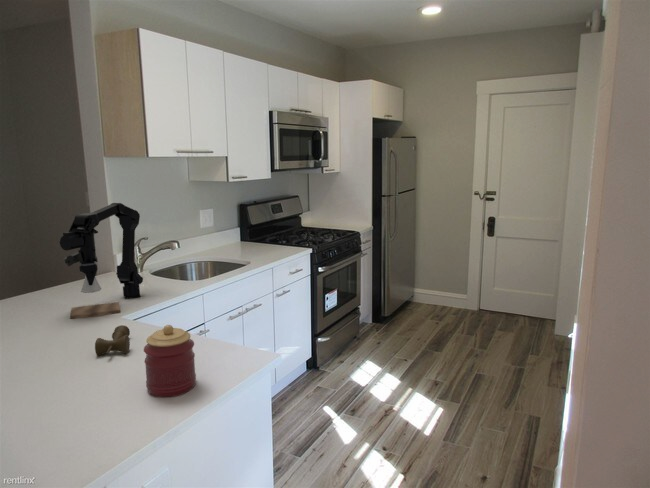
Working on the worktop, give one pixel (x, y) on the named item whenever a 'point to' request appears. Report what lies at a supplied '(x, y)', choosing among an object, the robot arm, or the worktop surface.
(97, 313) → the walnut board
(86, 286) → the flask
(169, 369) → the canister
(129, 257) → the robot arm
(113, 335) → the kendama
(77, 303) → the worktop surface
